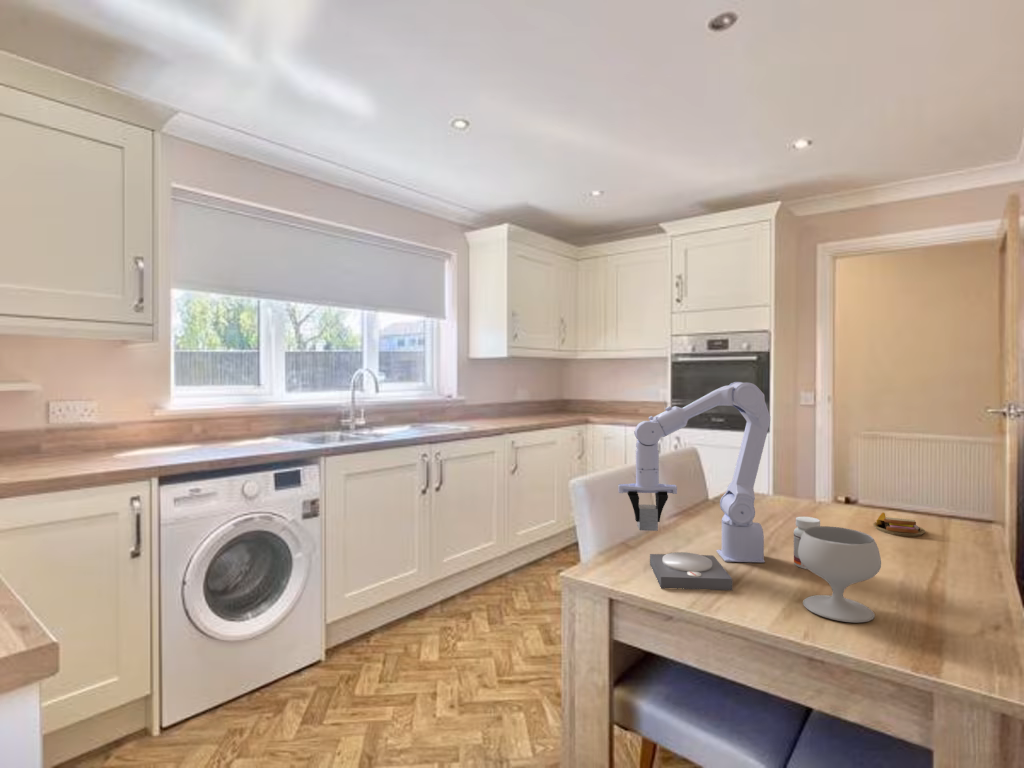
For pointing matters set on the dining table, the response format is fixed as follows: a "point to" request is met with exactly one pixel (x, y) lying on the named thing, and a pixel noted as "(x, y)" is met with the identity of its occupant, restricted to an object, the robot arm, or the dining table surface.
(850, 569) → the chalice
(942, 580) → the dining table surface
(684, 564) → the kitchen scale
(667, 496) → the robot arm
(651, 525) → the block
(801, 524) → the pill bottle
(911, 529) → the toy sandwich meal
